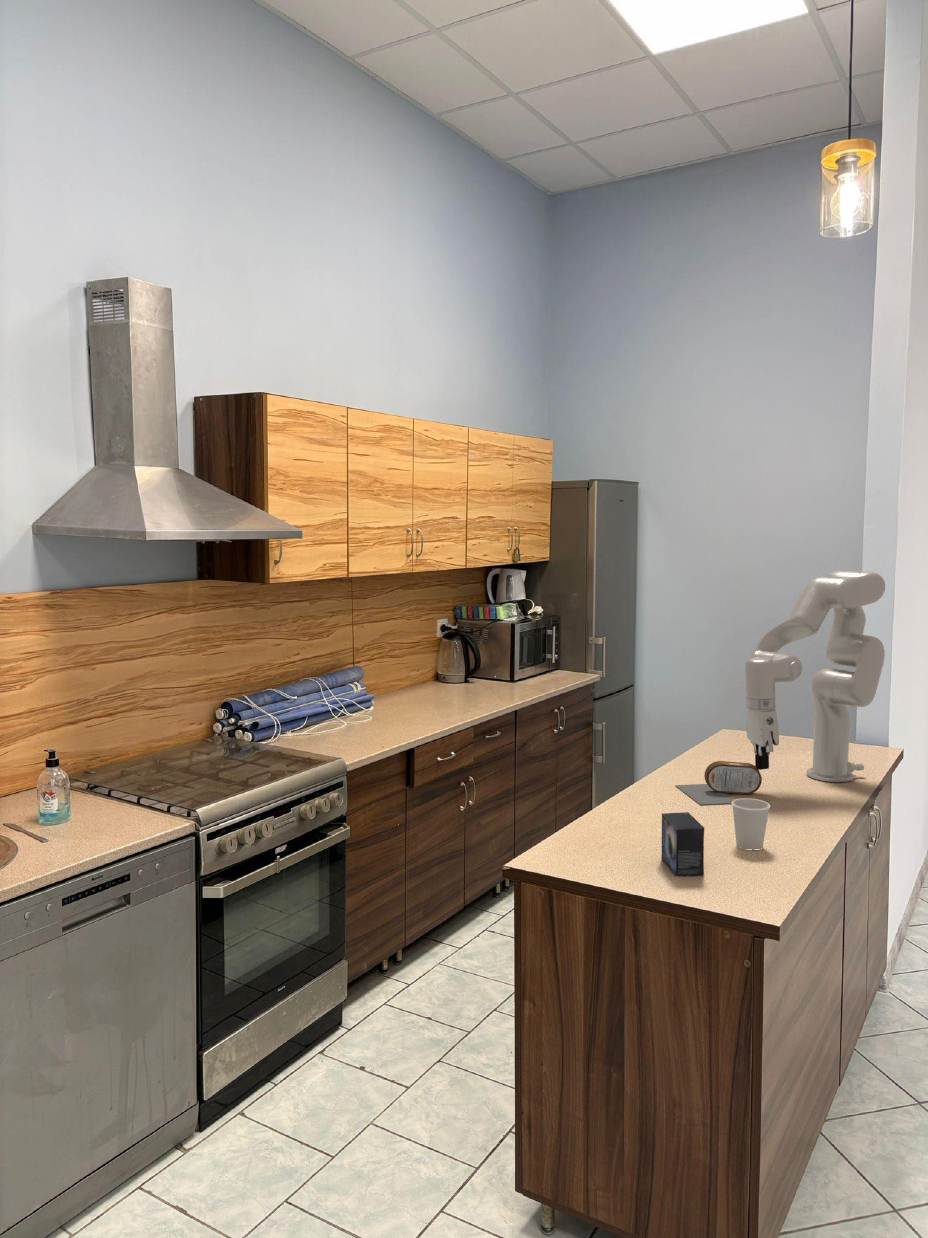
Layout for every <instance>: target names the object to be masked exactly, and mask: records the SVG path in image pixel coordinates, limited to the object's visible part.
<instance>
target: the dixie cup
mask: <svg viewBox="0 0 928 1238" xmlns="http://www.w3.org/2000/svg"><path fill="white" fill-rule="evenodd" d="M735 799H736V798H735ZM731 805H732V813H733V823H734V834H735V844H736V847H737V846H738V847H741V848H743V849H752V850H754V849H761V848H762V847H763V846H764V841H765V836H766V830H767V823H768V817H769V812H770V808H771V804H769V802H766V801H765V800H761V799H757V798H750V797H749V798H743V797H742V798H737V799H736V800H734V801H732V804H731ZM738 847H737V848H738ZM763 848H764V847H763ZM763 848H762V849H763ZM743 849H742V850H743ZM762 849H761V850H762Z"/></svg>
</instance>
